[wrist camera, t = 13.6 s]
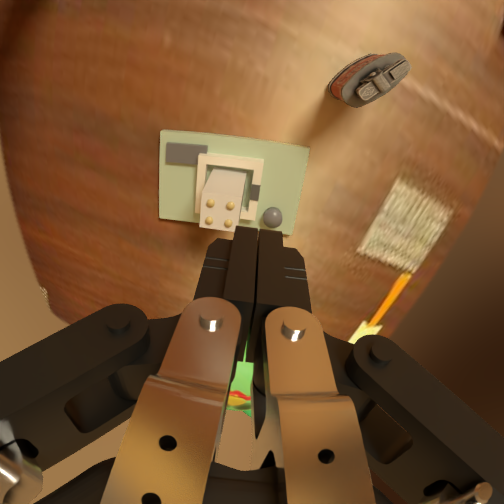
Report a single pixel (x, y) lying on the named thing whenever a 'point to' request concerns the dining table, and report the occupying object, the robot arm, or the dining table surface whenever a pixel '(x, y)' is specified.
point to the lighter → (368, 78)
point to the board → (238, 158)
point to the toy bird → (241, 388)
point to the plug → (222, 199)
